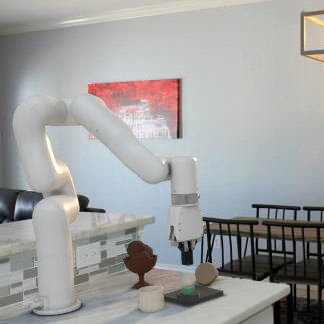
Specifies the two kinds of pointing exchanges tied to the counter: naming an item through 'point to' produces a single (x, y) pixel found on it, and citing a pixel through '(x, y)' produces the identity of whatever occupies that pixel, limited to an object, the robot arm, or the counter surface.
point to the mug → (206, 273)
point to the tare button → (188, 290)
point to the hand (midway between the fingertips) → (187, 264)
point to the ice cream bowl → (140, 261)
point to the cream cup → (151, 298)
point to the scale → (193, 296)
